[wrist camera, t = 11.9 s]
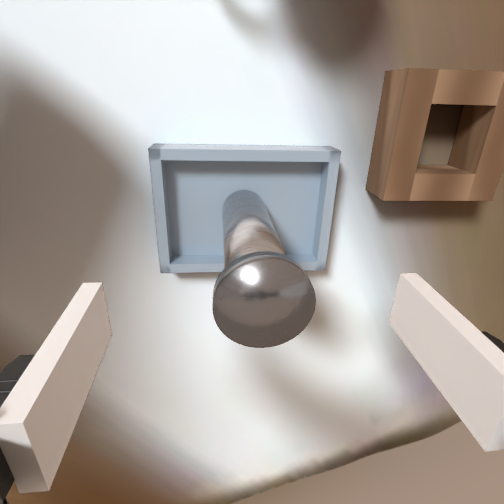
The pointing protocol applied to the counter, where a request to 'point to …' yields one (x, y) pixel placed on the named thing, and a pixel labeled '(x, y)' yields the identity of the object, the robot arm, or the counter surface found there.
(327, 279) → the counter surface
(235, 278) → the pin
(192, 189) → the tray
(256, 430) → the counter surface
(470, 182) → the socket block
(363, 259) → the counter surface
